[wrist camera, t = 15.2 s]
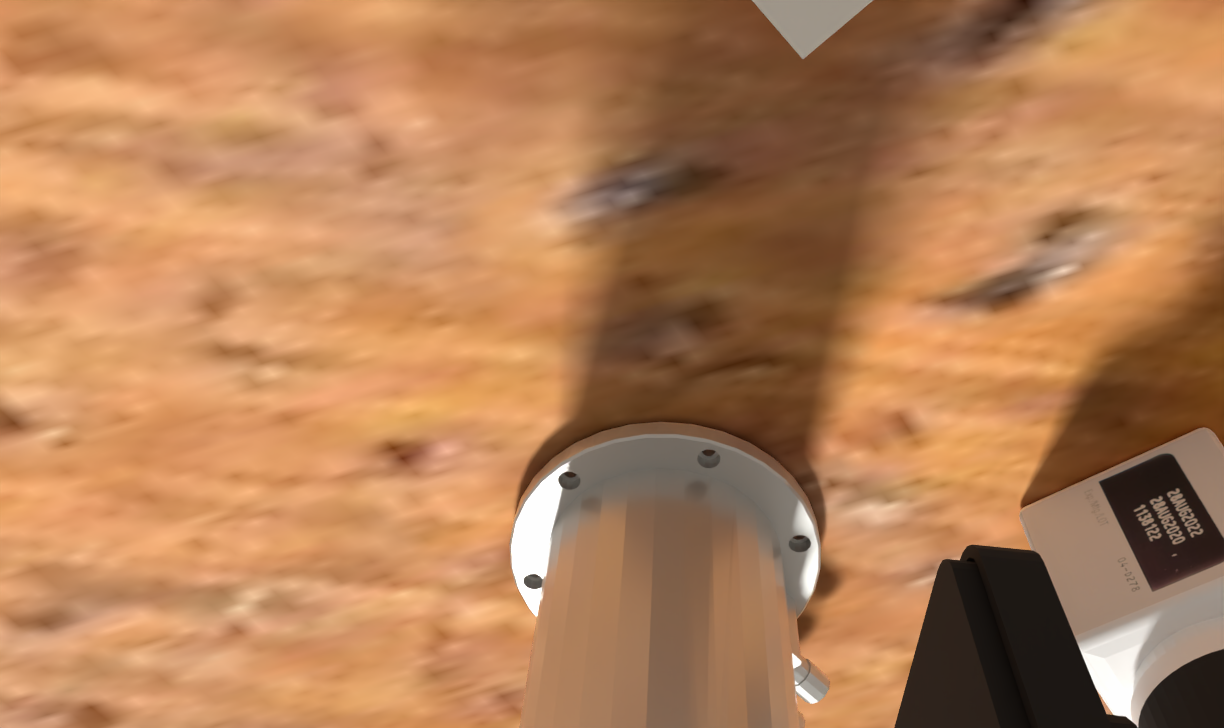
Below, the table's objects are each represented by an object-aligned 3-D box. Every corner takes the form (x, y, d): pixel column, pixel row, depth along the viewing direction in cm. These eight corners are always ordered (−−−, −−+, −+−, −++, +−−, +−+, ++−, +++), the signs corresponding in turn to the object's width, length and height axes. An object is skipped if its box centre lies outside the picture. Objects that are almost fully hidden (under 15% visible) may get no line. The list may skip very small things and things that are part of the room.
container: (1013, 506, 46) (1114, 776, 35) (1206, 419, 44) (1381, 680, 33) (1092, 628, 49) (1208, 911, 38) (1277, 553, 47) (1459, 834, 36)
